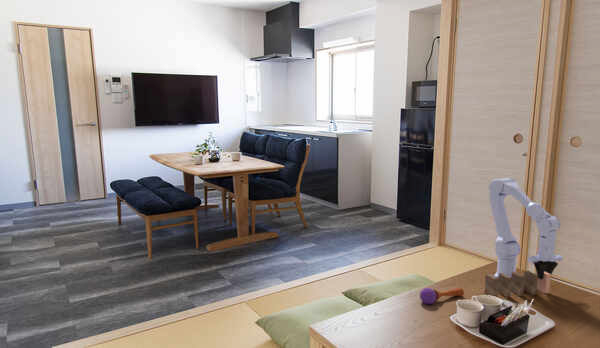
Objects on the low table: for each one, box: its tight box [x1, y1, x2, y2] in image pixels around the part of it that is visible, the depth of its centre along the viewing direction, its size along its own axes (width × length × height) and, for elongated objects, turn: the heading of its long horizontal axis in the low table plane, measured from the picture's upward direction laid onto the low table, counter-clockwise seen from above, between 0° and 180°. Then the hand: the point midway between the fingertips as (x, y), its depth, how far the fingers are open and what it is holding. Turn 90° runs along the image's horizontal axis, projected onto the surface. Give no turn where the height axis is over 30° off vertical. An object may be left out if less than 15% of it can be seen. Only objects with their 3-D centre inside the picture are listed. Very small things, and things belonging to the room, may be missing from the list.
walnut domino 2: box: [497, 273, 512, 298], centre depth 166 cm, size 2×5×8 cm, turn 11°
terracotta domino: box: [537, 271, 552, 294], centre depth 170 cm, size 2×5×8 cm, turn 11°
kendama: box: [419, 287, 465, 305], centre depth 161 cm, size 6×6×20 cm
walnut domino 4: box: [523, 270, 538, 295], centre depth 169 cm, size 2×5×8 cm, turn 12°
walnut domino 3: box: [510, 271, 525, 297], centre depth 167 cm, size 2×5×8 cm, turn 12°
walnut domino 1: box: [483, 273, 498, 298], centre depth 165 cm, size 2×5×8 cm, turn 11°
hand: (543, 278), depth 170 cm, fingers open, 3 cm apart
